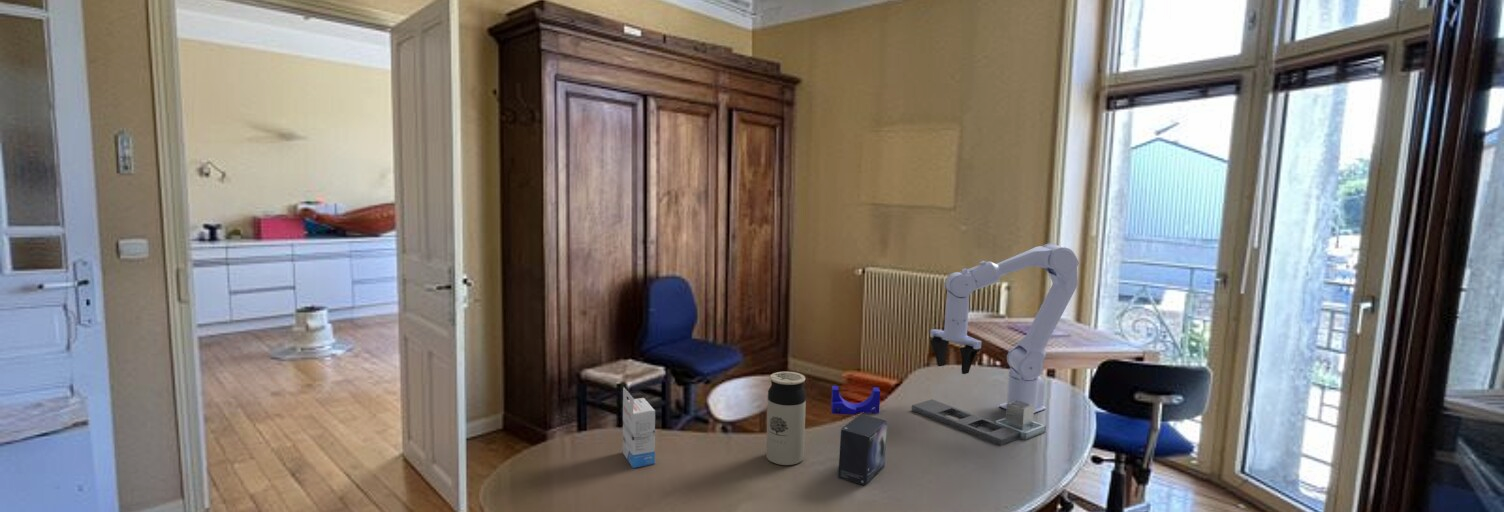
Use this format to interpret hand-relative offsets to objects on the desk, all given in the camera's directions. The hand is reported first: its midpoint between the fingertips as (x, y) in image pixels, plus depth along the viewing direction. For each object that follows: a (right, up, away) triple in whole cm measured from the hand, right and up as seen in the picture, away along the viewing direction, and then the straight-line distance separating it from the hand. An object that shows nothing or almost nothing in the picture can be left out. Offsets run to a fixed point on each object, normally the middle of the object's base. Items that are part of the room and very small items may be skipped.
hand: (952, 369), depth 174 cm
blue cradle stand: (-26, -10, -4) cm, 29 cm away
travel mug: (-46, -14, -33) cm, 58 cm away
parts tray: (+12, -12, -14) cm, 22 cm away
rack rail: (-1, -12, -11) cm, 16 cm away
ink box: (-77, -13, -34) cm, 85 cm away
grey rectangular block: (+12, -12, -14) cm, 22 cm away
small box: (-30, -15, -39) cm, 51 cm away
